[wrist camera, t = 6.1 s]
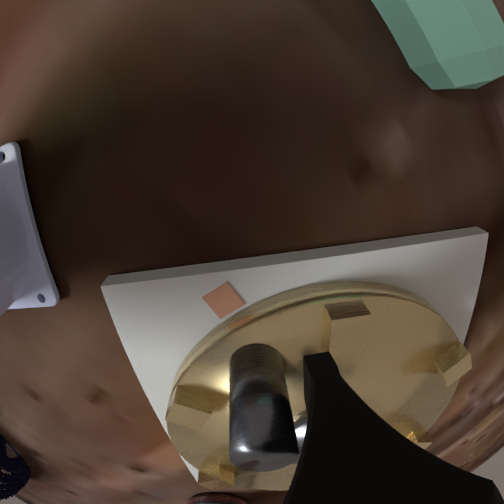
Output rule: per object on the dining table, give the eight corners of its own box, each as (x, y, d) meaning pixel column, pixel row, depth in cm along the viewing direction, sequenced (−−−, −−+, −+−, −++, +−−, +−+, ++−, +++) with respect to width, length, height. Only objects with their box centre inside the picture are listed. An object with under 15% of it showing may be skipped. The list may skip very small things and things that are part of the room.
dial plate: (199, 474, 19) (198, 485, 18) (108, 275, 13) (99, 287, 12) (416, 435, 19) (421, 444, 18) (476, 226, 13) (489, 233, 12)
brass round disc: (378, 465, 19) (397, 520, 13) (171, 465, 17) (163, 535, 11) (490, 297, 13) (554, 356, 8) (179, 253, 11) (135, 360, 6)
